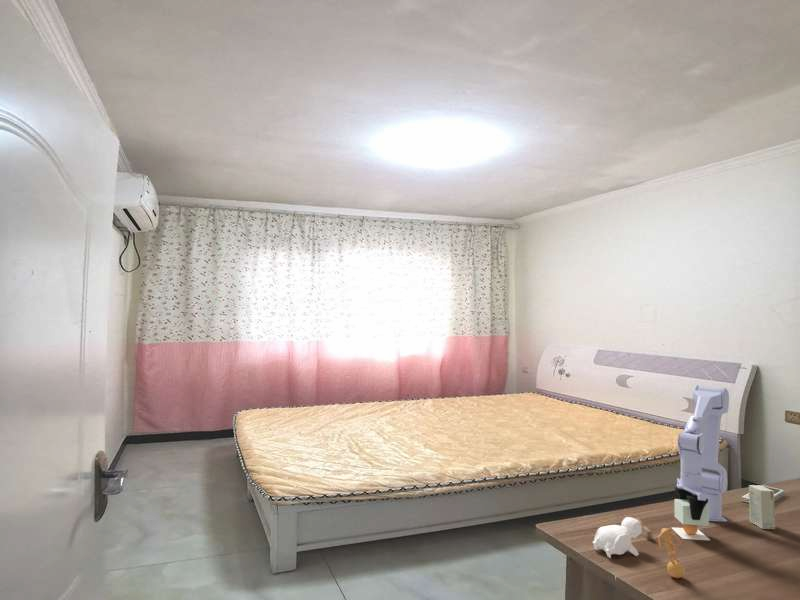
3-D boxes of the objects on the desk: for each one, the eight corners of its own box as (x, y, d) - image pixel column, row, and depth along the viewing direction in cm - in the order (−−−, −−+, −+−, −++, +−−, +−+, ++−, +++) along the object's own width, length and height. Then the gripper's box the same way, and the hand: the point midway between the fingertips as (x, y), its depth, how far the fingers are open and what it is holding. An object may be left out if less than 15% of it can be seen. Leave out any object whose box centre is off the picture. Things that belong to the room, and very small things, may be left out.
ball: (686, 516, 159) (696, 524, 159) (677, 525, 159) (687, 534, 159) (692, 521, 155) (702, 530, 155) (684, 530, 155) (694, 539, 155)
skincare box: (775, 529, 161) (775, 491, 162) (761, 529, 161) (761, 491, 162) (761, 521, 168) (761, 484, 168) (748, 521, 168) (748, 484, 168)
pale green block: (674, 516, 160) (674, 499, 161) (699, 518, 160) (699, 500, 160) (683, 524, 155) (683, 505, 155) (708, 525, 154) (708, 507, 154)
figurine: (672, 584, 127) (672, 536, 128) (651, 573, 133) (651, 527, 133) (693, 577, 131) (693, 530, 131) (672, 566, 136) (672, 522, 137)
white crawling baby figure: (617, 571, 139) (654, 543, 145) (608, 544, 138) (646, 517, 144) (594, 557, 147) (630, 531, 153) (586, 532, 146) (622, 506, 152)
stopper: (632, 523, 165) (632, 516, 165) (636, 523, 164) (636, 516, 165) (647, 539, 153) (647, 531, 153) (651, 540, 153) (651, 532, 153)
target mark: (671, 527, 162) (671, 527, 162) (697, 529, 161) (697, 528, 161) (682, 539, 154) (682, 538, 154) (710, 540, 153) (710, 539, 153)
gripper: (667, 464, 165) (667, 505, 165) (688, 478, 151) (688, 524, 150) (689, 465, 165) (689, 507, 164) (713, 479, 150) (713, 525, 150)
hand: (690, 515), depth 157 cm, fingers closed on pale green block, 6 cm apart
